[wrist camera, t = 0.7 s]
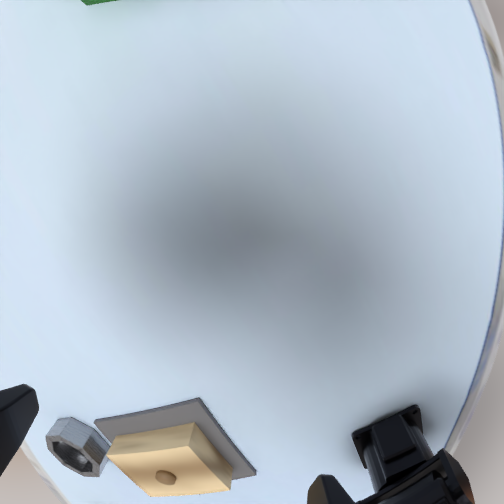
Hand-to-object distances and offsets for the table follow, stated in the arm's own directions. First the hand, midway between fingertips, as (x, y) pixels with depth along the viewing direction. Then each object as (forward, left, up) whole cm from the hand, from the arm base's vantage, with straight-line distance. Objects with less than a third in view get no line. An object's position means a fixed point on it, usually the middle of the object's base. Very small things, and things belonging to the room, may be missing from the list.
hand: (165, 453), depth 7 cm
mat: (-13, +12, -13) cm, 22 cm away
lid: (-13, +12, -13) cm, 21 cm away
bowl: (-10, +22, -13) cm, 27 cm away
